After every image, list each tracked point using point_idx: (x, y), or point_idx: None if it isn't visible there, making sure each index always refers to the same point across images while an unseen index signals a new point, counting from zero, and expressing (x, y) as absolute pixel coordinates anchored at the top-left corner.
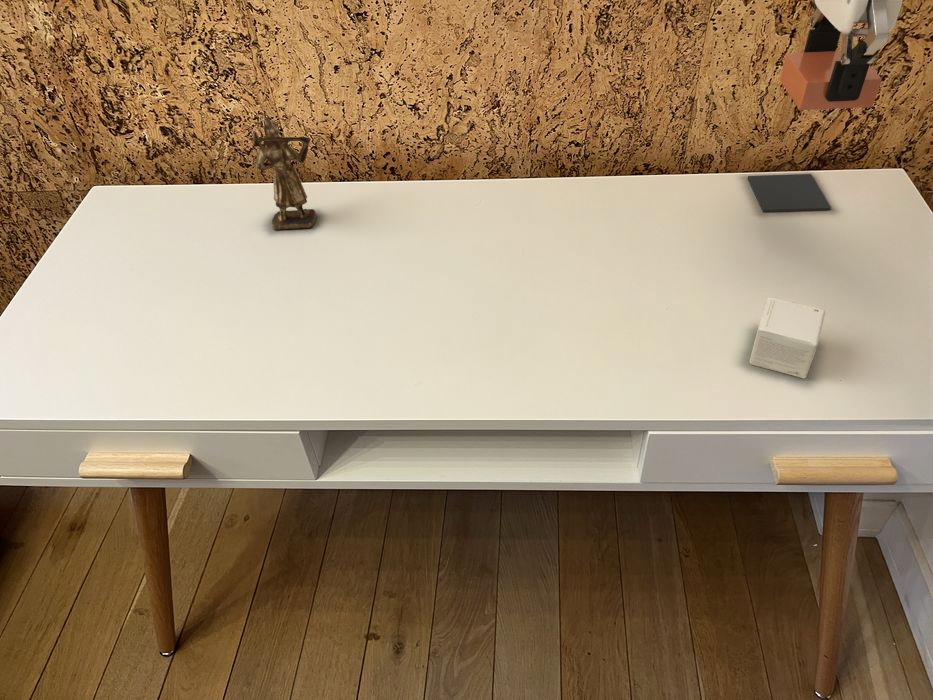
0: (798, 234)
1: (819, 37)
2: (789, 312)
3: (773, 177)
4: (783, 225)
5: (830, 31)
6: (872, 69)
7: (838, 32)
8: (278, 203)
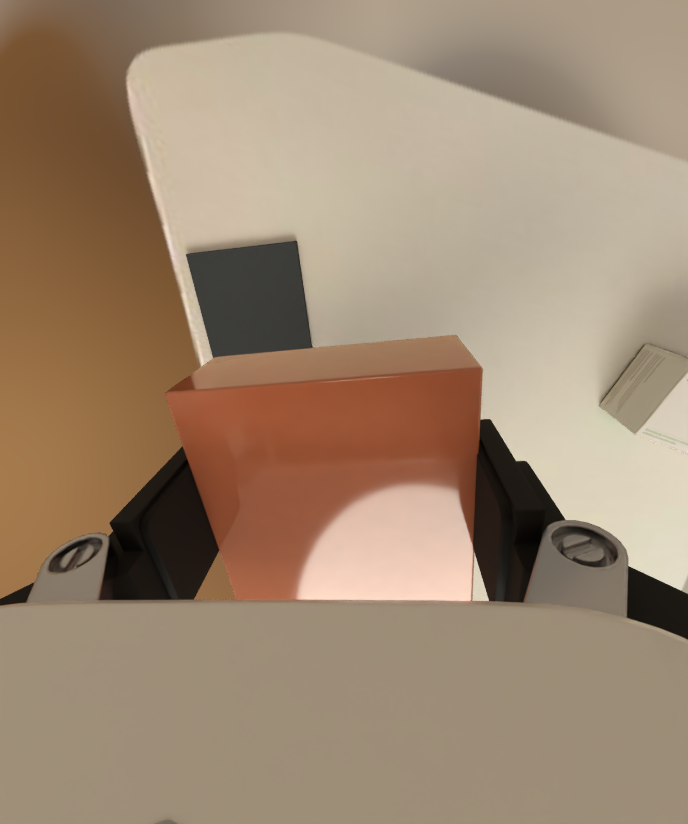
0: (371, 310)
1: (184, 571)
2: (683, 416)
3: (211, 322)
4: (347, 328)
5: (152, 557)
6: (372, 379)
7: (148, 527)
8: None
